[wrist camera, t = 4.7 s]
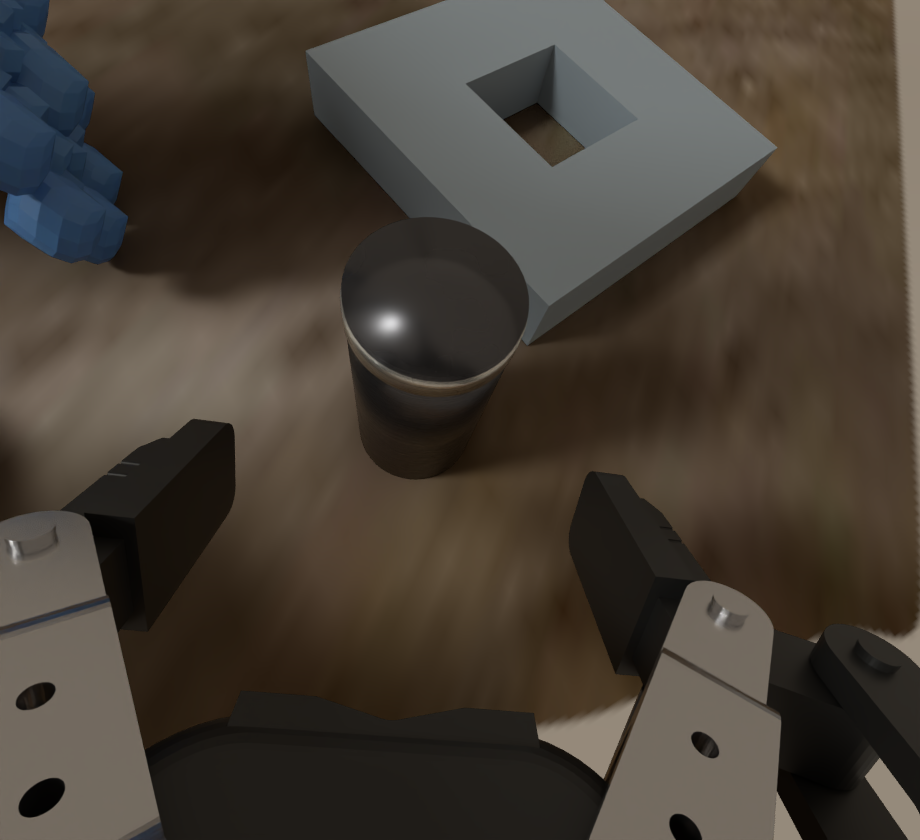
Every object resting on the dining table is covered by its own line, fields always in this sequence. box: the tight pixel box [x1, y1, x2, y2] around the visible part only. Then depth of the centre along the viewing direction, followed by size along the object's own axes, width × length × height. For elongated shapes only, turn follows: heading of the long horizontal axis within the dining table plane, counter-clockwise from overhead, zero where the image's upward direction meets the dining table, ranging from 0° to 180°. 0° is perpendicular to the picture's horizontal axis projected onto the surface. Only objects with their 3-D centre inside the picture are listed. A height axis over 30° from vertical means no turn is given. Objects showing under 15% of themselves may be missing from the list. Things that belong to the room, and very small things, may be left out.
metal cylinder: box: [340, 217, 529, 479], centre depth 17 cm, size 5×5×10 cm
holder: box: [306, 0, 777, 346], centre depth 27 cm, size 18×18×3 cm
